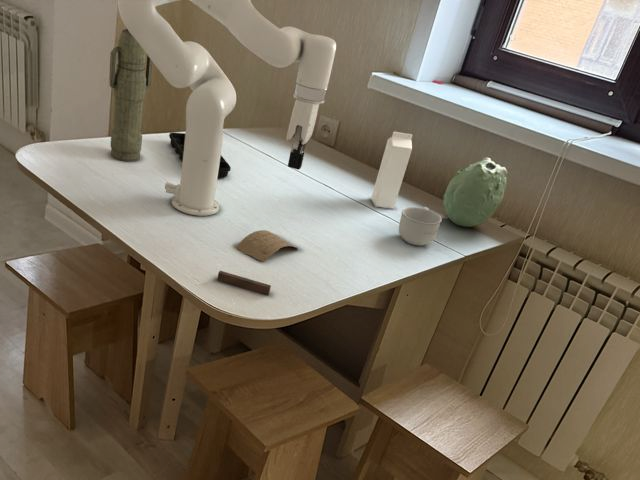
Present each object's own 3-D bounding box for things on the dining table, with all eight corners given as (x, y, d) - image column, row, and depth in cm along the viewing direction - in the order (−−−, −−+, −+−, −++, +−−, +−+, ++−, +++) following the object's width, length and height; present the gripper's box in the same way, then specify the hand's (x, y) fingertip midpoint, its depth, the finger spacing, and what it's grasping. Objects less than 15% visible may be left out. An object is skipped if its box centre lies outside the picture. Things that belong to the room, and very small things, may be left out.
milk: (393, 209, 206) (416, 138, 194) (374, 206, 205) (396, 134, 193) (389, 201, 211) (410, 131, 199) (370, 198, 210) (390, 128, 198)
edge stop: (217, 280, 151) (218, 272, 150) (218, 278, 152) (220, 270, 151) (268, 295, 150) (269, 287, 149) (269, 293, 151) (271, 285, 150)
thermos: (150, 160, 204) (161, 35, 184) (115, 163, 197) (122, 34, 178) (135, 149, 209) (144, 27, 190) (100, 152, 202) (106, 25, 183)
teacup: (424, 253, 183) (433, 226, 179) (388, 238, 187) (396, 212, 183) (441, 239, 194) (450, 213, 189) (406, 225, 197) (415, 199, 193)
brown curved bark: (264, 264, 162) (266, 253, 160) (234, 246, 167) (235, 236, 165) (301, 250, 172) (303, 240, 170) (272, 234, 176) (273, 224, 175)
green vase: (424, 218, 204) (446, 154, 193) (458, 209, 216) (480, 148, 205) (467, 241, 196) (493, 175, 184) (500, 230, 208) (526, 167, 196)
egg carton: (200, 142, 225) (201, 131, 223) (246, 178, 205) (248, 166, 203) (151, 144, 216) (152, 132, 214) (194, 181, 196) (196, 169, 194)
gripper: (301, 82, 167) (287, 155, 177) (287, 95, 154) (272, 172, 165) (331, 90, 166) (314, 162, 176) (319, 103, 154) (302, 180, 164)
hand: (294, 167), depth 170 cm, fingers closed
